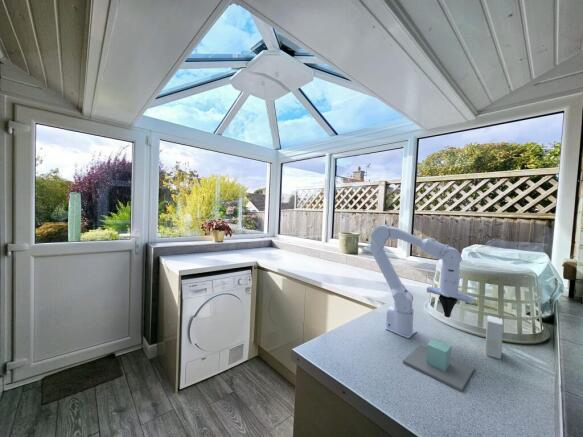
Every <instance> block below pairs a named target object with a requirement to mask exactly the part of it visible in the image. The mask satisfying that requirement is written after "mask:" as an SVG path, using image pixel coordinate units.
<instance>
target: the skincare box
mask: <svg viewBox="0 0 583 437" xmlns="http://www.w3.org/2000/svg"><path fill="white" fill-rule="evenodd" d="M486 318H487V319H486V320H487V321H486V331H485V332H486V333H485V352H484V353H485V355H486V356H489V357H492V358H495V359H499V360H502V350H503V348H502V346H503V331H504V330H503V329H504V321H503V318H499V317H496V316H493V315H492V316H491V315H487V316H486Z"/></svg>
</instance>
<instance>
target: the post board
mask: <svg viewBox="0 0 583 437" xmlns="http://www.w3.org/2000/svg"><path fill="white" fill-rule="evenodd" d="M426 360H427V346H424V345H422V344H419V345H418V346H417V347H416V348H415V349H414V350H413V351H411V352H410V353H409V354H408V355H407V356H406V357H405V358H404V359H403V360H402V363H403V364H405V365H407V366H409V367H411V368H413V369H415V370H416V371H418V372H420V373H423V374H425V375H427V376H429V377H430V378H433V379H434V380H435V379H436V380H437V381H439V382H441V383H443V384H446V385H447V386H450V387H451V388H453V389H455V390H457V391H459V392H461V393H462V392H463V390H464V389H465V387H466V386H467V384H468V382H469V380H470V379H471V377H472V375H473V373H474V372H475V370H476V369H475V367H474V366H472V365H469V364H467V363H465V362H463V361H461V360H457V359H455V358H452V357H451V361H450V365H449V367H448V368H447V369H446V371H443V370H441V369H439V368H436V367H434V366H432V365H430V364H428V363H426Z"/></svg>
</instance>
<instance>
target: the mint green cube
mask: <svg viewBox="0 0 583 437" xmlns="http://www.w3.org/2000/svg"><path fill="white" fill-rule="evenodd" d="M426 347H427V360H426V363H428V364H430V365H432V366H434V367H436V368H439V369H441V370H443V371H446V369H447V368H448V367H449V365H450V361H451V358H452V357H451V356H452V345H451V344H447V343H445V342H442V341H440V340H437V339H434V338H432V339H431V340H430V341H429V342H428V344H427V346H426Z"/></svg>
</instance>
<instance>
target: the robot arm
mask: <svg viewBox="0 0 583 437" xmlns="http://www.w3.org/2000/svg"><path fill="white" fill-rule="evenodd" d="M388 240H391V241H392V240H401V241H403V242H406V243H408V244H410V245H414V246H416V247H418V248H419V249H420V250H419V251H420V252H422V253H424V254H426V255H428V256H431V257H432V258H435V259H437V260H442V261H441V262H442V263H441V267H440V281H439V282H440V285H439V286H440V287H433V286H427V287H426V293H429V294H430V293H431V294H435V295H437V296H439V297H438V301H439V303H440V304H441V307H442V310H443V315H444V318H445V317H446V318H448V319H449V318H450V317H451V314H452V311H453V310H454V307H455V305H456V304H457V302H458V301H462V302H464V303H465V302H466V303H468V304H471V305H472V304H473V303H474V297H473V296H470V295H467V294H464V293H461V292H459V286H460V285H459V284H460V273H461V272H460V263H461V262H462V261H463V258H462V254H461V253H460V251H458V249H456V248H455V247H453V246H450V245H449V244H447V243H446V244H443V243H441V242H439V241H436V239H435V238H433V237H432V238H429V237H428V238H425V239H423V238H420V237H418V236H416V235H413V234H411V233H409V232H407V231H404V230H402V229H400V228H398V227H395V226H391V225H390V226H389V225H388V224H385V223H384V224H380V225H378V226H375V227H374V228H373V230H372V232H371V234H370V246H369V247H370V248H369V250H370V252H371V254H372V256H373V258H374V260H375V262H376V264H377V265H378V267H379V269H380V271H381V273H382V275H383V277H384V279H385V281H386V283H387V285H388V287H389V289H390V292H391V296H392V298H393V300H394V304H393V305H390V306H388V308H387V311H386V318H385V320H386V323H385V327H384V329H385V330H387V331H389V332H392V333H393V334H396V335H398V336H402V337H404V338H405V339H410V338H411V337H412V336H413V335H415V334H416V333H417V332H418V331H417V329H416V330H415V328H414V308H413V302H414V296H413V294H412V293H411V292H410V291H409V290H407V289H408V288H406V286H405V285H404V284H403V283H402V281H401V279H400V277H399V275H398V273H397V272H396V270H395V268H394V266H393V264H392V263H391V260H390V258H389V256H388V255H387V253H386V251H385V245H386V243H387V241H388Z"/></svg>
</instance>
